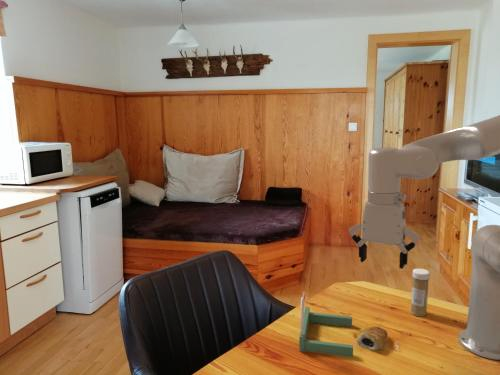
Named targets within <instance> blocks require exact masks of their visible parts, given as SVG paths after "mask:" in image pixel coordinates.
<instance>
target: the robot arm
mask: <svg viewBox="0 0 500 375" xmlns="http://www.w3.org/2000/svg"><path fill="white" fill-rule="evenodd" d="M496 155H500V114H499V115H496V116H494V117H493V116H492V117H490V118H488V119H484V120H481V121H478V122H475V123H472V124H469V125H465V126H461V127H458V128H455V129H452V130H448V131H444V132H441V133H437V134H434V135H430V136H427V137H424V138H421V139H418V140H415V141H412V142H409V143H407V144H405V145H403V146H402V147H400V148H399V149H398V148H396V147H377V148H372V149H370V150H369V153H368V171H367V172H368V174H367V178H368V179H367V180H368V181H367V201H365V203H364V208H363V212H362V218H361V223H358V224H356V225H353V226H351V227H349V228H348V232H349V234H350V236H351V239H352V240H353V241H354V242H355V243H356V244H357V247H358V257H359V258H360V263H364V262H365V261H366V260H367V259H368V257H367V256H368V255H367V254H368V253H367V252H368V249H367V248H368V247H367V244H366V242H369V243H370V242H371V243H377V244H384V245H385V244H386V245H391V246H392V245H394V246H397V247H398V249H399V250H400V252H399V263H398V264H399V269H401V270H402V269H404V268H405V265H406V266H407V265H408V255H409V254H408V252H410V251H411V250H413V249H414V248H415V247H416V245H417V244H418V243H419V241H420V239H421V235H419V234H418V233H416V232H414V231H413V230H411V229H409V228H407V224H406V223H407V221H406V211H405V205H404V203H402V201H407V194H404V193H402V191H401V180H402V178H407V179H414V180H425V179H428V178H430V177H432V176H434V175H435V174H436V173H437V172H438V170H439V167H440V164H441V163H446V162H454V161H475V160H482V159H487V158H491V157H493V156H496ZM359 230H360V231H361V237H360V236H359V234H358V233H357V231H359ZM406 237H409V238H410V239H411V242H409V243H407V242H406V241H405V240H406ZM470 247H471V248H470V251H471V252H470V254H471V267H472V268H471V279H470V280H471V281H470V283H471V284H470V292H469V300H468V301H469V302H468V311H467V313H468V314H467V321H466V329H463V330H462V331H460V332H459V335H458V341H459V343H460V344H461V346H463V348H465V349H466V350H467V351H469V352H471V353H473V354H475V355H477V356H479V357H482V358H486V359H489V360H498V361H500V225H498V224H487V225H484V226H482V227H480V228H478V230H476V232H474V234H473V236H472V239H471V244H470Z"/></svg>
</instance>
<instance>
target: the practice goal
mask: <svg viewBox="0 0 500 375" xmlns="http://www.w3.org/2000/svg"><path fill="white" fill-rule="evenodd" d="M301 296H302V297H301V298H300V332H299V337H298V338H299V339H298V340H299V341H298V342H299V343H298V344H299V346H298V348H299V349H298V350H299V352H308V353H309V352H310V353H318V354H326V355H334V356H339V357H340V356H341V357H349V358H350V357H351V358H353V357H354V345H353V344H345V343H339V342H328V341H323V340H322V341H321V340H311V339H307V338H308V337H307V335H308V331H309V324H310V323H312V324H321V325H331V326H339V327H349V328H352V327H353V316H349V315H348V316H347V315H339V314H338V315H337V314H331V313H323V312H322V313H320V312H311V309H310V306H305V299H306V297H305V296H306V291H303V293H302V295H301Z"/></svg>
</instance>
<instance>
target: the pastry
mask: <svg viewBox="0 0 500 375" xmlns="http://www.w3.org/2000/svg"><path fill="white" fill-rule="evenodd" d="M387 342H388V331H387V330H385V329H384V328H382V327H380V326H370V327H366V328H364V329H363V330H361V331H360V332H359V333H358V336H357V338H356V343H357V345H359V346H360V347H362V348H364V349H369V350H371V351H374V352H376V351H377V352H378V351H382V350H383V349H384V348H385V346H386V344H387Z"/></svg>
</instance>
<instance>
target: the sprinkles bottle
mask: <svg viewBox="0 0 500 375" xmlns="http://www.w3.org/2000/svg"><path fill="white" fill-rule="evenodd" d="M429 280H430V271H429V270H427V269H425V268H414V269H413V270H412V285H411V286H412V287H411V301H410V302H411V304H410V313H411V314H412V315H413V316H416V317H425V316H426V315H427V314H428V312H427V308H428V298H429V294H428V293H429Z"/></svg>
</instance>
